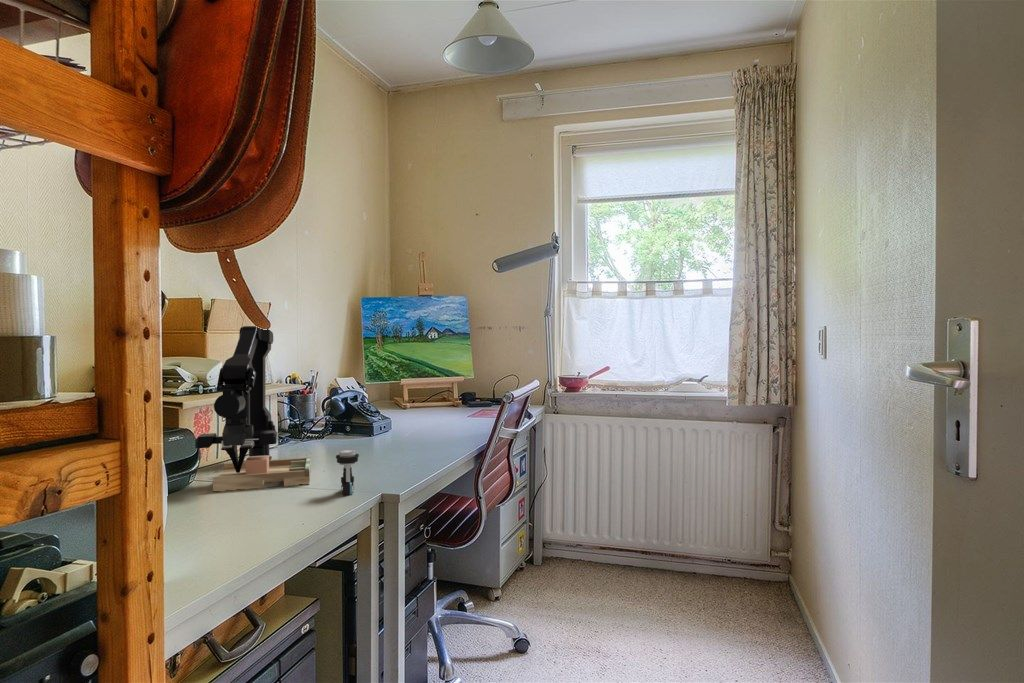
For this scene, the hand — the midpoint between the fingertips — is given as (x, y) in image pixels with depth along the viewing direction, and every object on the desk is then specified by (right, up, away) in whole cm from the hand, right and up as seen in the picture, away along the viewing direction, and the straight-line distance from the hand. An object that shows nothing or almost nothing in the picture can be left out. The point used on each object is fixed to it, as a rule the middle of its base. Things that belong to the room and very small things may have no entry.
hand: (238, 472), depth 149 cm
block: (+4, -1, +1) cm, 5 cm away
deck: (+6, -3, +2) cm, 7 cm away
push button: (+31, -3, -9) cm, 32 cm away
